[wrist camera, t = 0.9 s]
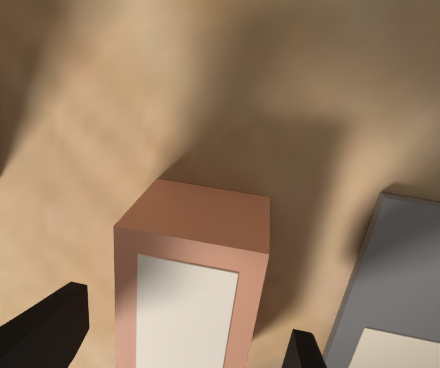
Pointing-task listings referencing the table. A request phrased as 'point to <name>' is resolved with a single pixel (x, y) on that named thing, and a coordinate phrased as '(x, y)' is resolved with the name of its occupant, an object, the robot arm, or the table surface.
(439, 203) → the charcoal mat
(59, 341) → the robot arm
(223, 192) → the pink box with label
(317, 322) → the table surface
